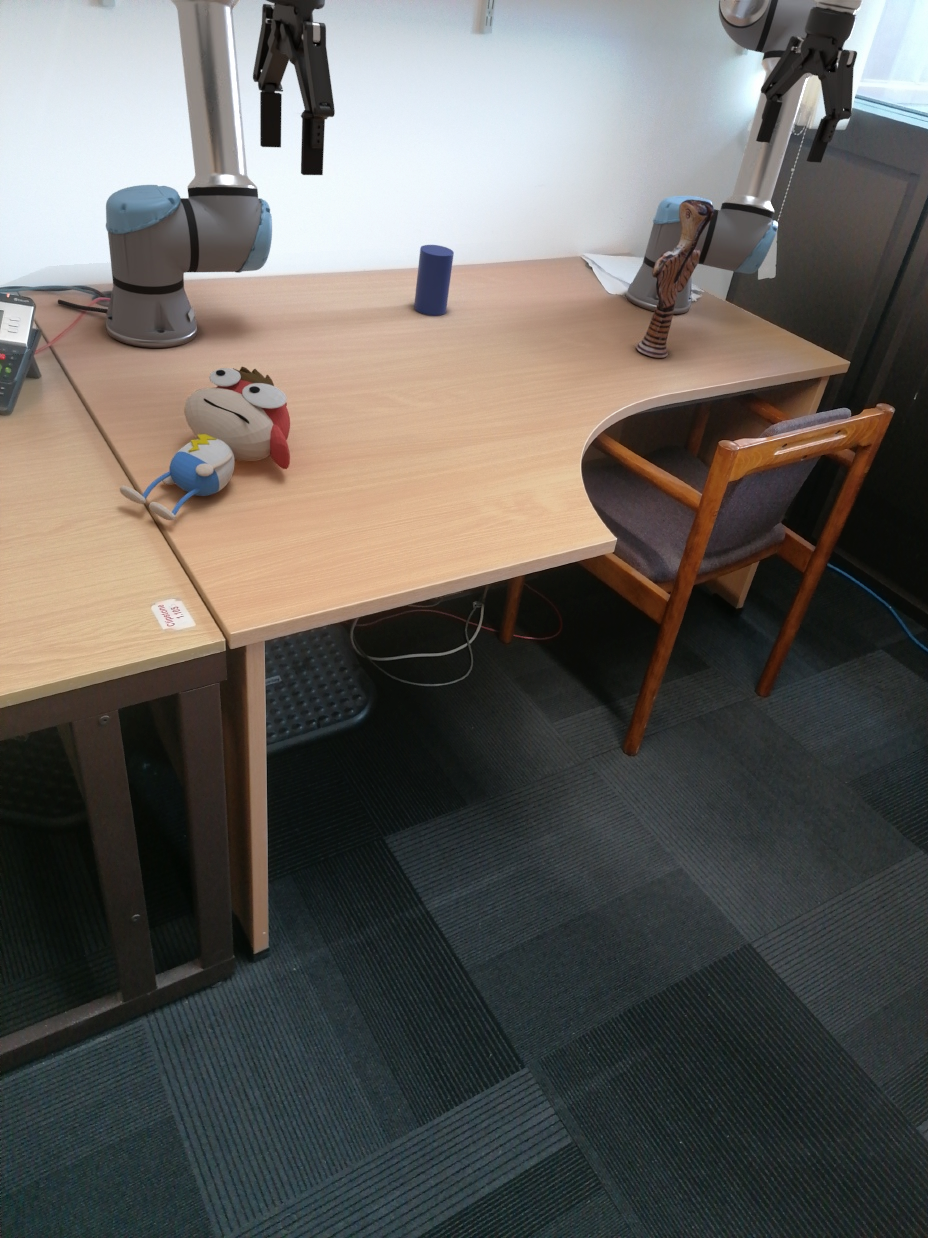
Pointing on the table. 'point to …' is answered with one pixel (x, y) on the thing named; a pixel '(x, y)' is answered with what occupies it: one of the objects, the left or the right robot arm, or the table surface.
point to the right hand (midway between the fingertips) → (787, 151)
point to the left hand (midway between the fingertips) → (290, 160)
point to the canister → (433, 279)
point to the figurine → (675, 274)
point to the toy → (225, 435)
